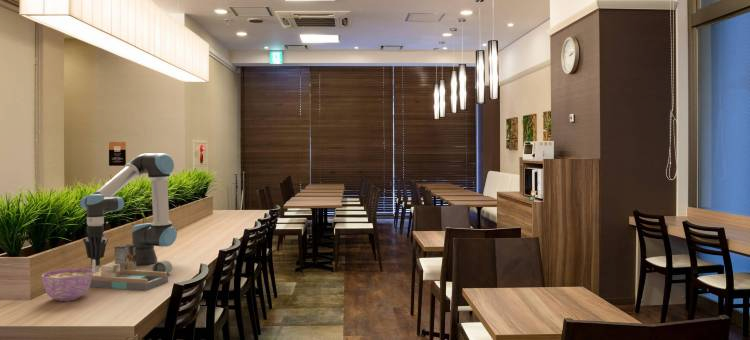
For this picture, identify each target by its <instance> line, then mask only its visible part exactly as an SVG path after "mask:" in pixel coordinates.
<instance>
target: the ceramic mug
mask: <svg viewBox="0 0 750 340" xmlns="http://www.w3.org/2000/svg"><path fill="white" fill-rule="evenodd" d="M152 265H153V266H152V269H151V271H156V272H167V275H168V274H170V273H171V272H172V270H173V264H172V263H171V261H168V260H163V261H161V260H160V261H157V262H156V263H153V264H152Z"/></svg>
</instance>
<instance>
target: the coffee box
mask: <svg viewBox="0 0 750 340" xmlns="http://www.w3.org/2000/svg"><path fill="white" fill-rule="evenodd" d="M114 264H120V269H122V270H137V265H136V245H133V244H129V243H128V244H126V243H125V244H121V245H118V246H114Z"/></svg>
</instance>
